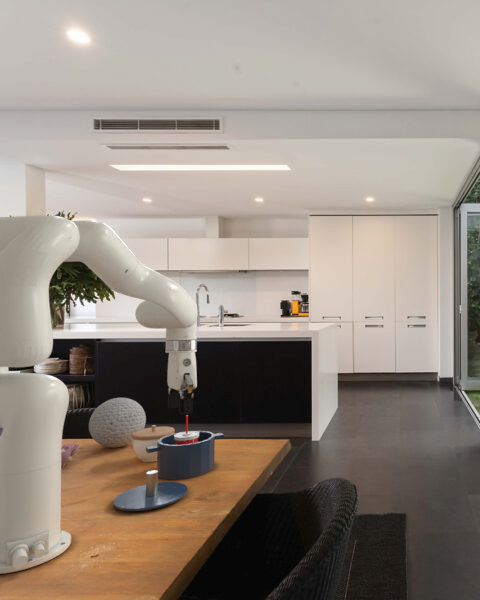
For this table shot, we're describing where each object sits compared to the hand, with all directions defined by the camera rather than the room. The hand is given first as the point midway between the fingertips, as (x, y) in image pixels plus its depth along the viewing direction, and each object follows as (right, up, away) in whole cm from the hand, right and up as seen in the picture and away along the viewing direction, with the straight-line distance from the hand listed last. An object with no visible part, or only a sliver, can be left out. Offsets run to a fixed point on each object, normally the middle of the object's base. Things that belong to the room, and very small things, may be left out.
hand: (180, 410), depth 120 cm
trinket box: (-12, -16, +9) cm, 22 cm away
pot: (+2, -16, 0) cm, 16 cm away
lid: (+3, -15, -18) cm, 24 cm away
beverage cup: (+2, -15, 0) cm, 16 cm away
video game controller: (-33, -16, +2) cm, 37 cm away
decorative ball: (-29, -16, +20) cm, 39 cm away
